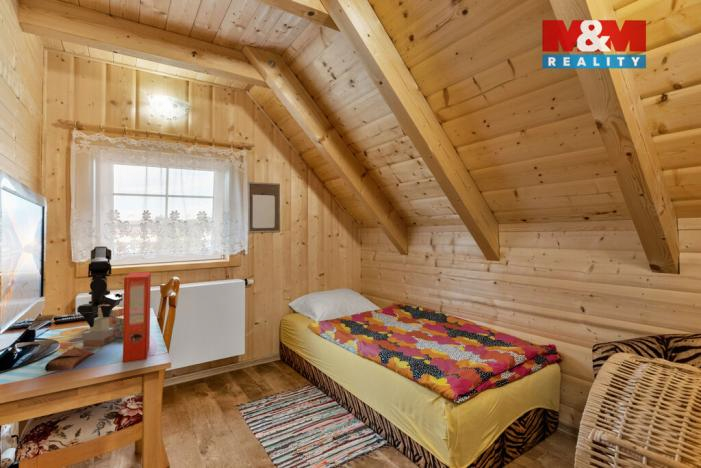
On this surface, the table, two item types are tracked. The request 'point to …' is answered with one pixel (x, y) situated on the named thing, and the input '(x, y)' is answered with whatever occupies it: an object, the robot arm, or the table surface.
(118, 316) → the stack of blocks
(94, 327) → the sage cube
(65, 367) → the sunglasses case
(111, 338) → the walnut base block
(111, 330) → the grey top block
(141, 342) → the file binder
